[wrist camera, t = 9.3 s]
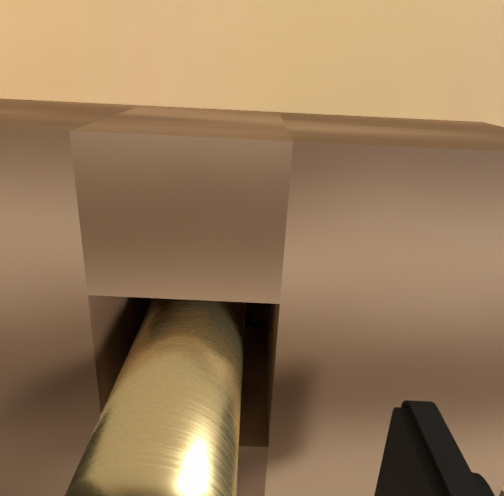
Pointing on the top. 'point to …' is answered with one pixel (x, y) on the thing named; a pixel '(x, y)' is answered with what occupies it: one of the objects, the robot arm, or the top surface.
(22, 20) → the top surface
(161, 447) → the peg
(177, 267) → the hole block
